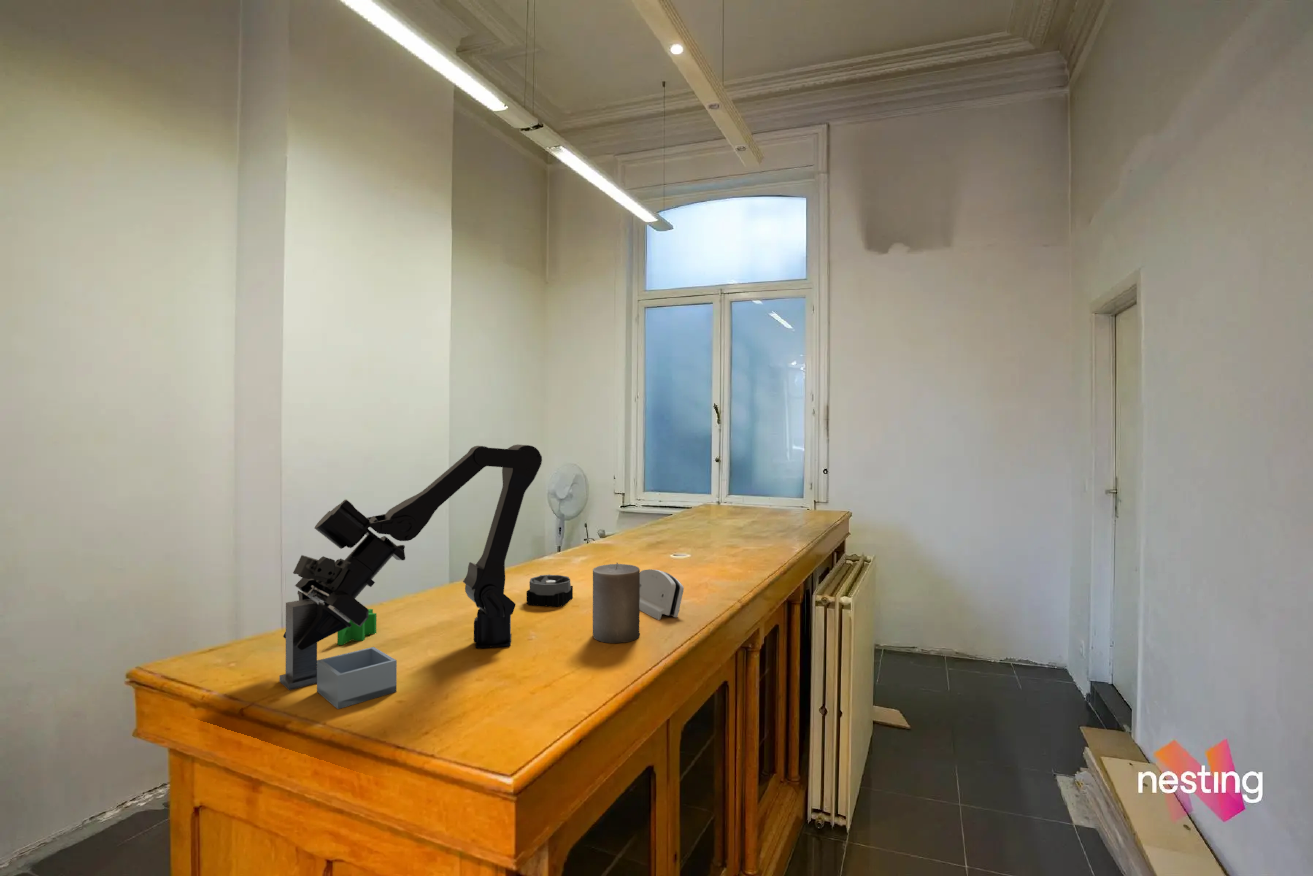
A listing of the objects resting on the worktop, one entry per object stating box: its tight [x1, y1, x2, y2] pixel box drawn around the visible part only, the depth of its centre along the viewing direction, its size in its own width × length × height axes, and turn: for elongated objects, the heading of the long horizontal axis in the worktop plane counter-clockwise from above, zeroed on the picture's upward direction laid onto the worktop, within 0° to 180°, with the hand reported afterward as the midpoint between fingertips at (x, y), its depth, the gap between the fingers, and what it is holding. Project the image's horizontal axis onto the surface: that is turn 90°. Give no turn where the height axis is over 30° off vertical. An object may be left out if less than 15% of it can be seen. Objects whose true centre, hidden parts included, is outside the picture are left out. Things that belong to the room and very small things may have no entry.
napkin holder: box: [639, 569, 685, 621], centre depth 148 cm, size 17×5×10 cm, turn 30°
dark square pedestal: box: [278, 599, 318, 691], centre depth 103 cm, size 5×5×13 cm
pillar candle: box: [592, 562, 641, 644], centre depth 128 cm, size 10×10×15 cm
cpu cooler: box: [526, 574, 574, 608], centre depth 153 cm, size 10×6×10 cm
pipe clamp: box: [336, 608, 377, 646], centre depth 126 cm, size 10×4×4 cm, turn 174°
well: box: [316, 646, 398, 710], centre depth 100 cm, size 9×9×5 cm
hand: (292, 643), depth 102 cm, fingers open, 6 cm apart
